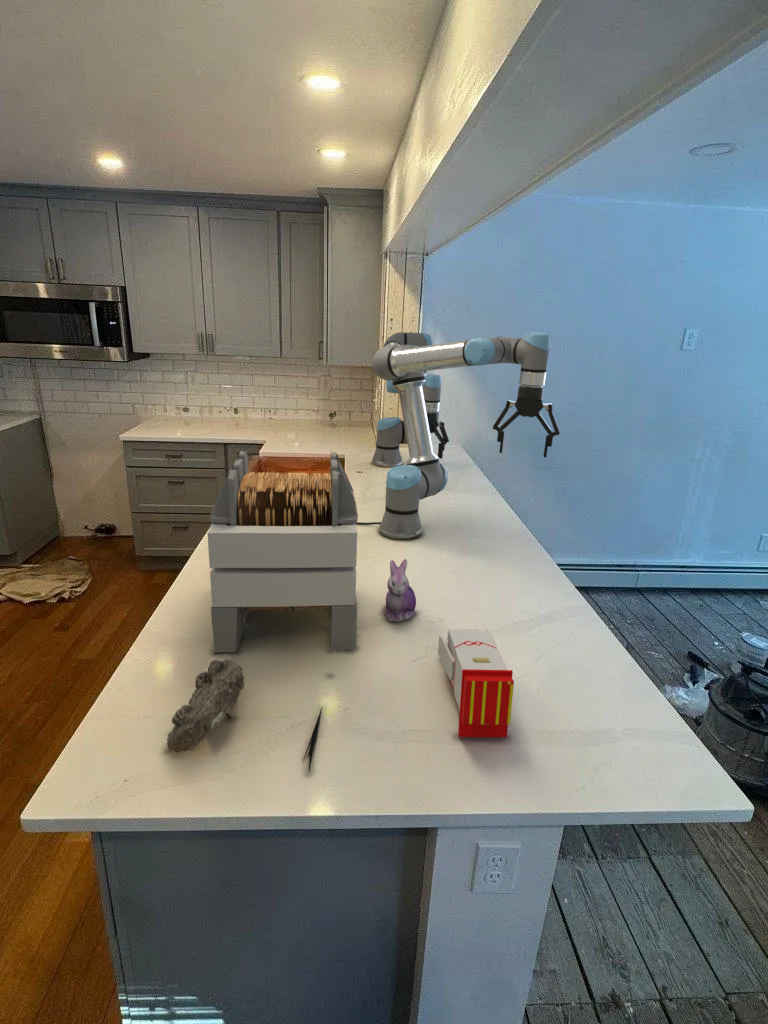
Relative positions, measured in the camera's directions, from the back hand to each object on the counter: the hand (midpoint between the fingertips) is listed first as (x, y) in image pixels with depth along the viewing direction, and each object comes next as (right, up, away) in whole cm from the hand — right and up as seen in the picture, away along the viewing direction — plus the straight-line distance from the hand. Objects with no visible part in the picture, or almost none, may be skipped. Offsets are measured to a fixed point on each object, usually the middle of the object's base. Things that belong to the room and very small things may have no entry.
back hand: (427, 459), depth 251 cm
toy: (-1, -61, -133) cm, 146 cm away
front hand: (+25, -5, -73) cm, 77 cm away
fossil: (-52, -63, -143) cm, 165 cm away
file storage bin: (-43, -50, -107) cm, 126 cm away
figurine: (-15, -50, -104) cm, 116 cm away
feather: (-31, -63, -143) cm, 159 cm away
